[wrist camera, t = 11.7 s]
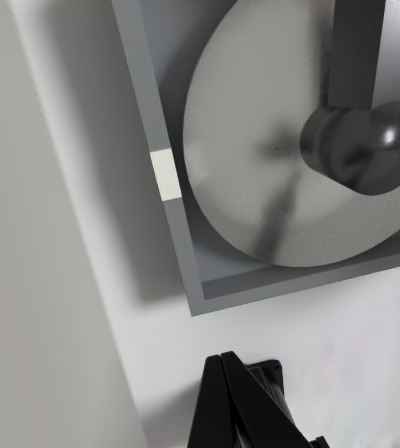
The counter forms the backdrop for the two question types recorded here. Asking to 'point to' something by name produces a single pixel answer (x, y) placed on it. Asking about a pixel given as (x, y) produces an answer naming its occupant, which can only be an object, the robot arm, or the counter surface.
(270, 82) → the dial
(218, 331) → the counter surface
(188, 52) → the dial base
